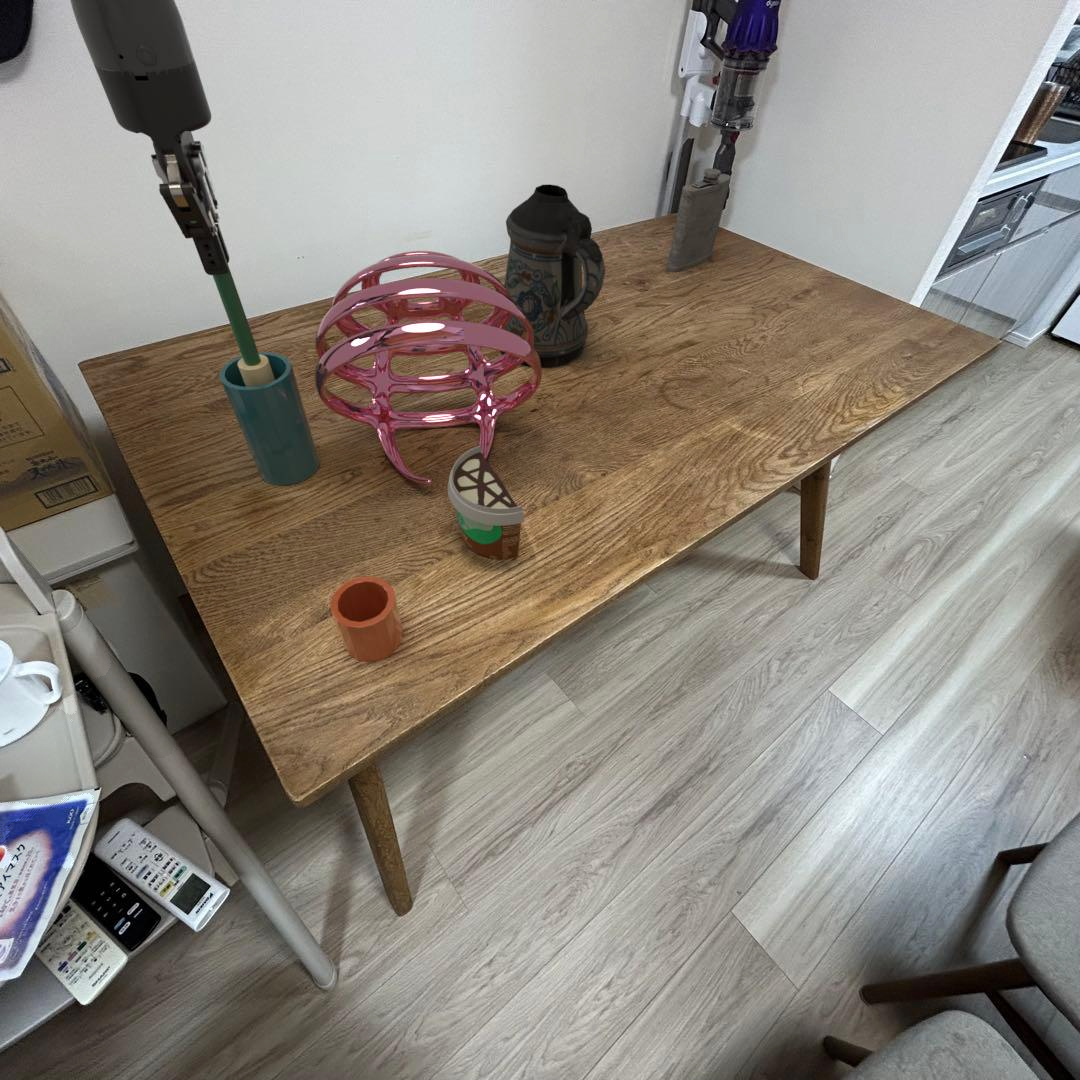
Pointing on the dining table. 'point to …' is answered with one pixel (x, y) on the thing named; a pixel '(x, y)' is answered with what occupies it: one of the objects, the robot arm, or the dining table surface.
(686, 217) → the flask
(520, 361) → the spiral basket
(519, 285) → the beer stein
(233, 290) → the bottle brush
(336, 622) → the cup
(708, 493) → the dining table surface
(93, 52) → the robot arm
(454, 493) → the food container
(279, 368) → the teal cylindrical cup
